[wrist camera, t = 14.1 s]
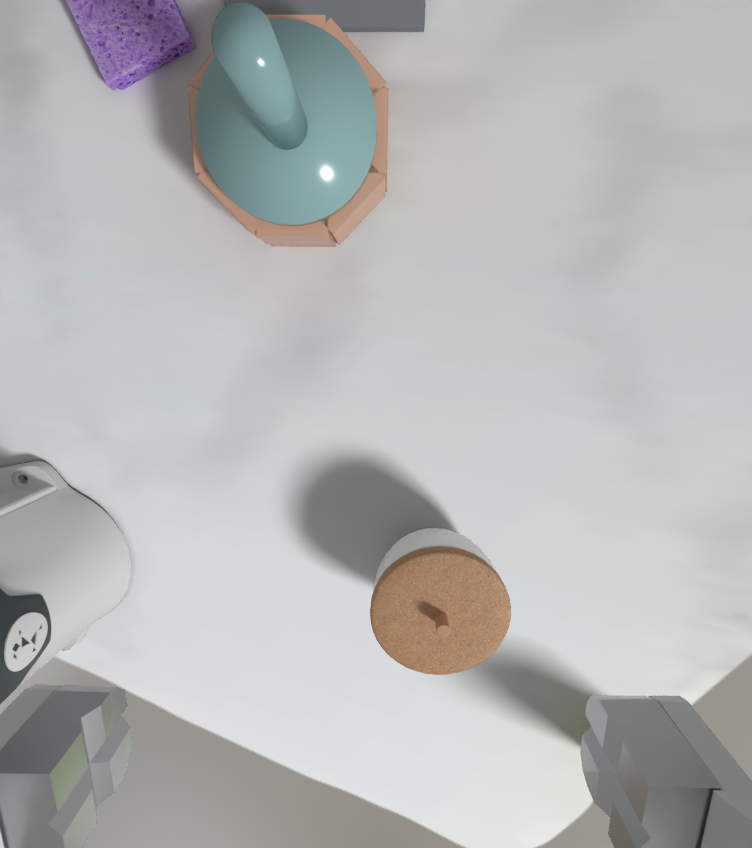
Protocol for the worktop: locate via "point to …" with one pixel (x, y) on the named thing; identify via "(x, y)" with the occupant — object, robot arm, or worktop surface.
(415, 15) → the mat
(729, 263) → the worktop surface
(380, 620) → the lidded jar
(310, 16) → the bowl
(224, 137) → the lid
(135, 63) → the sponges
